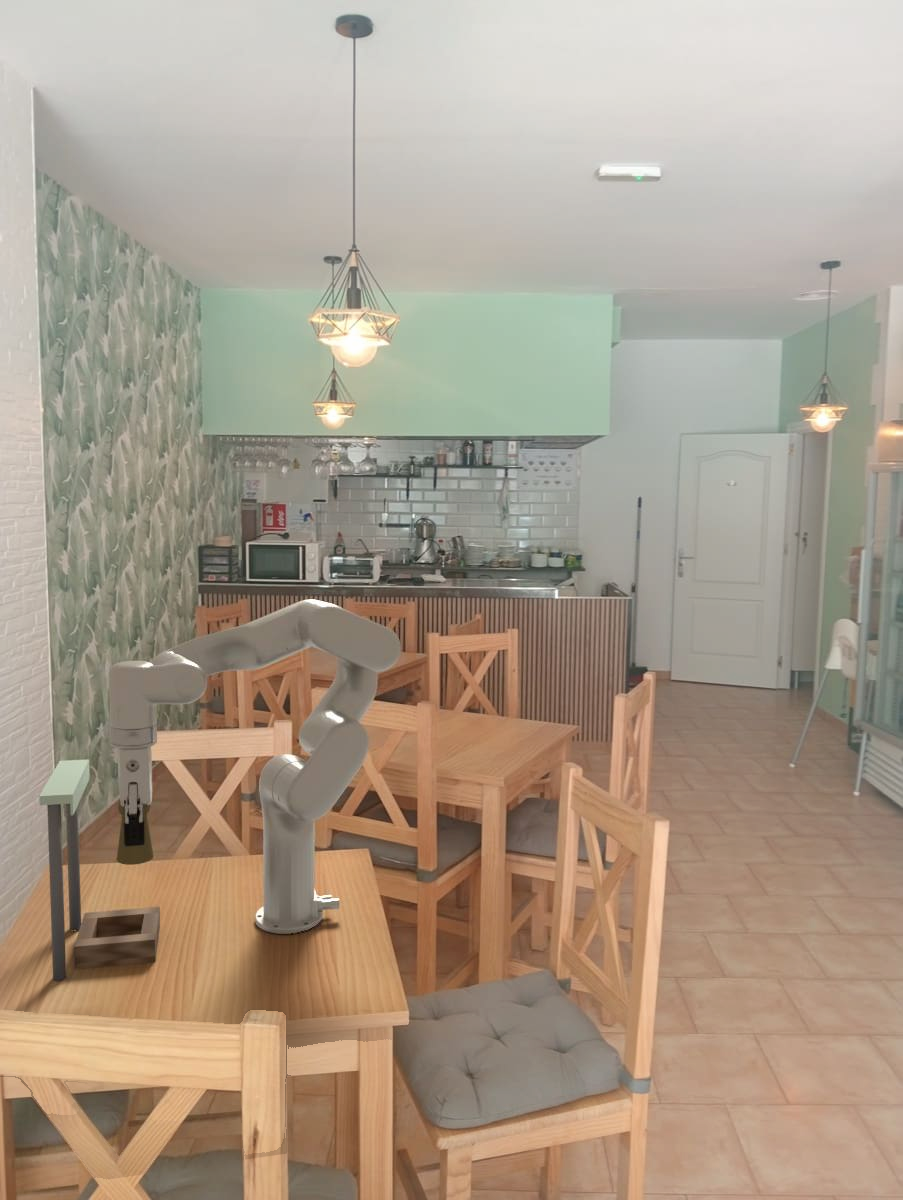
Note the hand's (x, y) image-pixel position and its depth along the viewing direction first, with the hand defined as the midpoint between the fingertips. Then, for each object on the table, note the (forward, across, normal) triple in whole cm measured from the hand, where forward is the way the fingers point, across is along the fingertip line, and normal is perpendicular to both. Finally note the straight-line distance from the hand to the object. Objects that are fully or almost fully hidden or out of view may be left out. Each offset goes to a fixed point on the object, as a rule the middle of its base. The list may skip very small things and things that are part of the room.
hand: (135, 838), depth 161 cm
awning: (+21, +5, +11) cm, 25 cm away
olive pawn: (+3, 0, 0) cm, 3 cm away
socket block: (+21, +5, +3) cm, 22 cm away
